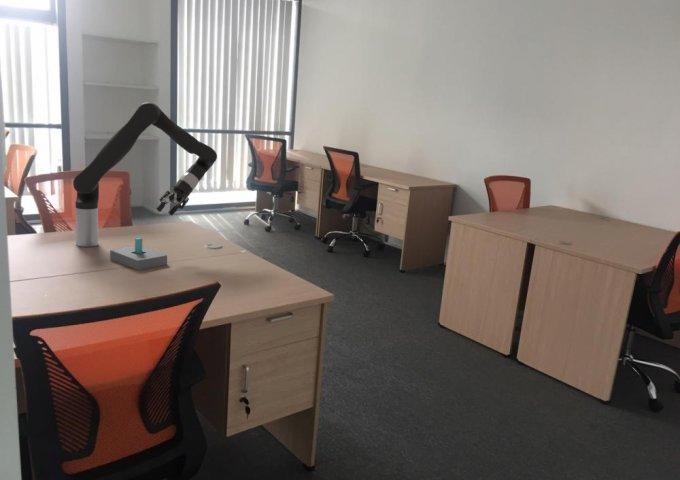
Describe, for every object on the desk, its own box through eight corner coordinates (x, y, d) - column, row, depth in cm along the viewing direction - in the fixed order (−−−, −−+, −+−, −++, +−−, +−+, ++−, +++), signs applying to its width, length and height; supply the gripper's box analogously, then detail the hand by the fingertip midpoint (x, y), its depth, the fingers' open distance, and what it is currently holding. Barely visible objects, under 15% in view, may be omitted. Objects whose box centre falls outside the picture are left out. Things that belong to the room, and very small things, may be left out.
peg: (133, 261, 249) (133, 238, 246) (139, 260, 251) (139, 237, 249) (137, 263, 247) (137, 239, 245) (143, 261, 249) (143, 238, 247)
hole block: (110, 259, 249) (110, 250, 248) (139, 254, 260) (139, 245, 259) (137, 270, 238) (137, 260, 237) (167, 264, 248) (167, 255, 247)
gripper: (171, 176, 262) (148, 204, 256) (191, 181, 254) (168, 209, 248) (181, 187, 268) (159, 214, 261) (201, 192, 259) (179, 220, 253)
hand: (163, 212), depth 255 cm, fingers open, 8 cm apart
